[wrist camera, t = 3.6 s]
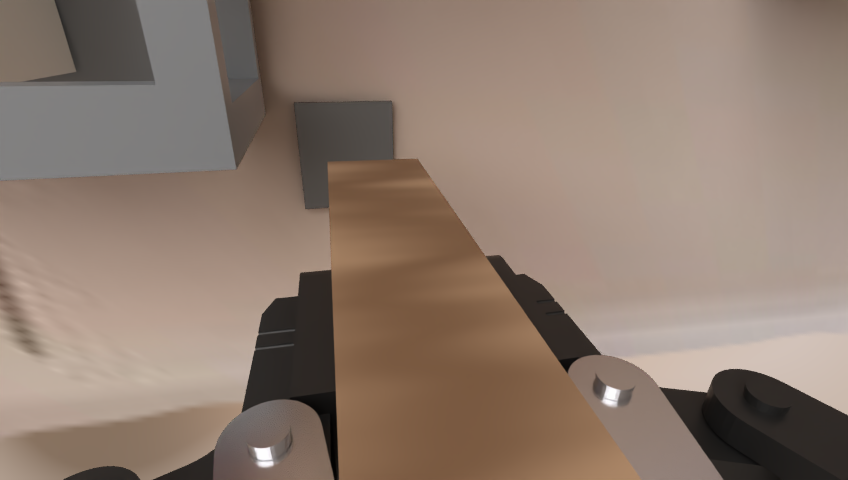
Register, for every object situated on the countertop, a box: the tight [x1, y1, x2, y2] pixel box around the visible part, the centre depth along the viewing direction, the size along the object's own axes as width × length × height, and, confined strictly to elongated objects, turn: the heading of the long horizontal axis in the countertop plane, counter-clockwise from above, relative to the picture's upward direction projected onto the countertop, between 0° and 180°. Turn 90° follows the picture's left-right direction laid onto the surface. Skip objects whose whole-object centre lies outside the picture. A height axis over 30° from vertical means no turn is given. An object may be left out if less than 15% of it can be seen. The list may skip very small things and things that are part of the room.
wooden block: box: [327, 159, 641, 480], centre depth 9 cm, size 3×3×14 cm
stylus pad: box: [294, 101, 393, 209], centre depth 21 cm, size 4×5×1 cm
